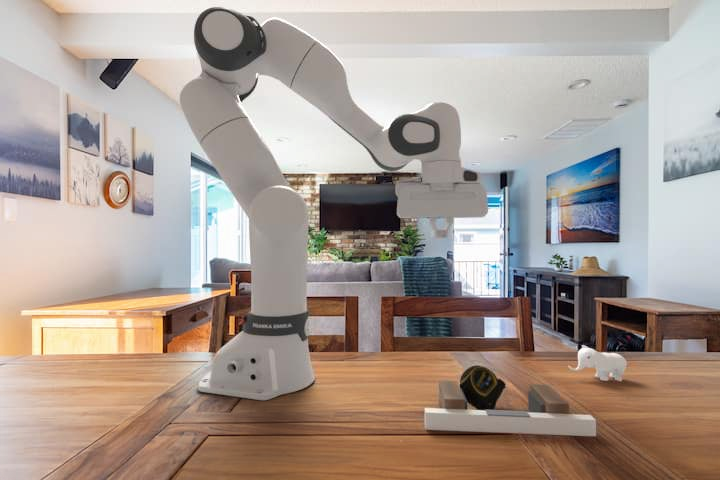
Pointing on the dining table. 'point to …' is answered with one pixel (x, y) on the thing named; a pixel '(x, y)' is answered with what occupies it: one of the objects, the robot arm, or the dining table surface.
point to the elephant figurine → (601, 363)
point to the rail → (508, 414)
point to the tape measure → (481, 387)
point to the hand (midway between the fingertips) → (441, 237)
